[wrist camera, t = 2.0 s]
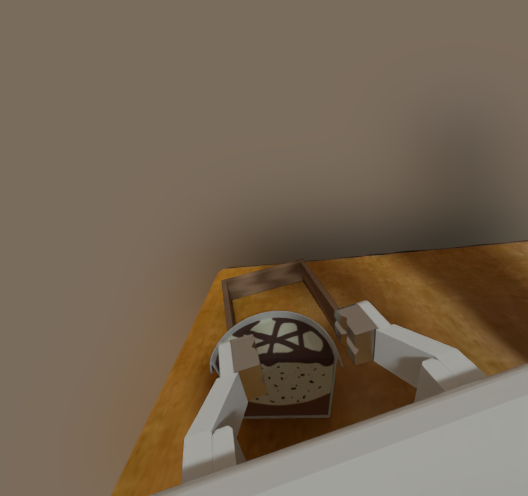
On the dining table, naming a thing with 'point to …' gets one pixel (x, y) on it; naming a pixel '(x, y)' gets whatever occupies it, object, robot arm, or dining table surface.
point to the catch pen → (274, 279)
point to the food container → (289, 365)
